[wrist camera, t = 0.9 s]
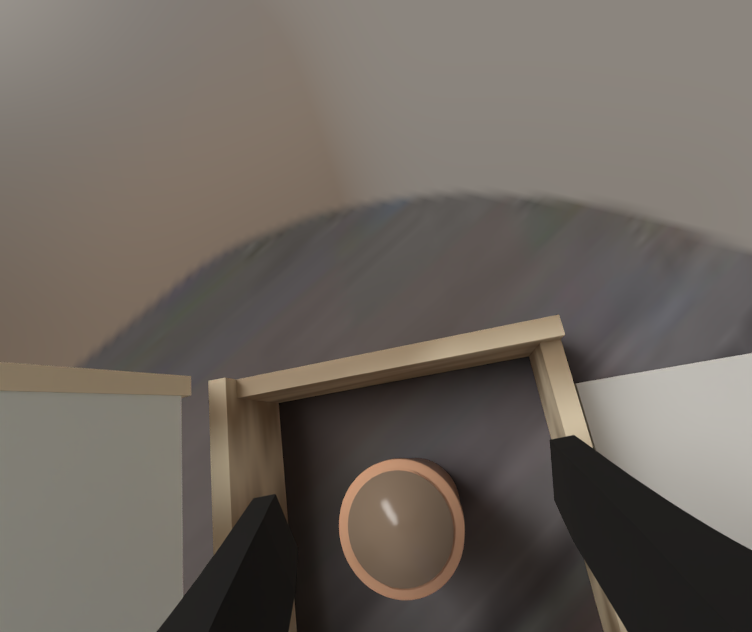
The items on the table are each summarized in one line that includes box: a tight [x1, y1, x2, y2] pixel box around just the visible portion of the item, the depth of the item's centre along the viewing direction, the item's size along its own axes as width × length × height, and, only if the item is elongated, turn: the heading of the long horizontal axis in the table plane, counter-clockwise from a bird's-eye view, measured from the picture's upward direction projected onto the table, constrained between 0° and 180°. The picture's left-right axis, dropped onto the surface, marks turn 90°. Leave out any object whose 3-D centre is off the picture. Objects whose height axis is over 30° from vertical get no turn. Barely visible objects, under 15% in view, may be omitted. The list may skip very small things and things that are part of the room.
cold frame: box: [208, 315, 627, 632], centre depth 20 cm, size 16×18×6 cm
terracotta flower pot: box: [339, 458, 465, 600], centre depth 20 cm, size 6×6×6 cm
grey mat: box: [575, 353, 752, 550], centre depth 20 cm, size 11×9×1 cm
